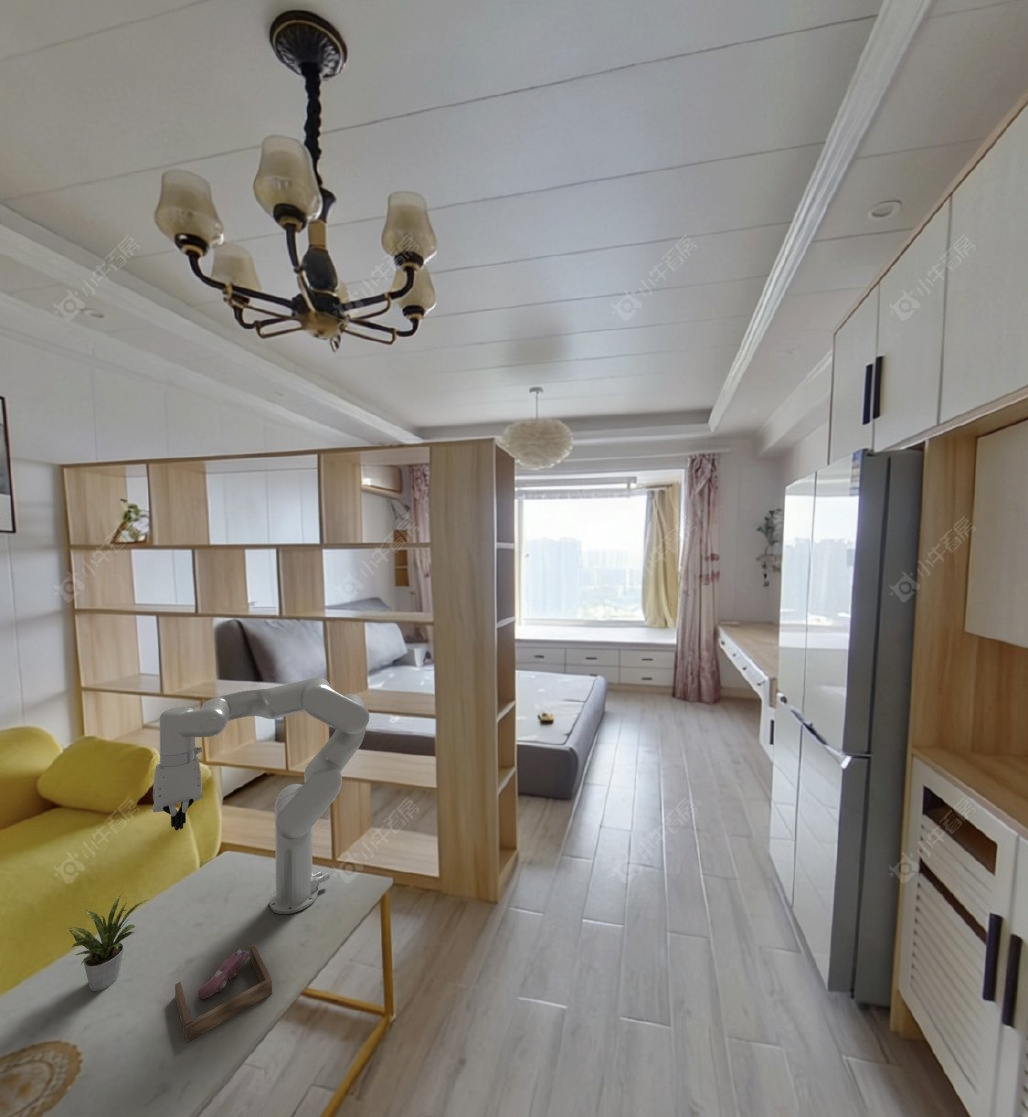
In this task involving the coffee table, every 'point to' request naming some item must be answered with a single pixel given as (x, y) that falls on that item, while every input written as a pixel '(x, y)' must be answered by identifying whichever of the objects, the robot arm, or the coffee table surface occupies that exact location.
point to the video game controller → (223, 974)
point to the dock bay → (227, 1008)
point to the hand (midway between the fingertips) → (178, 827)
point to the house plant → (103, 947)
